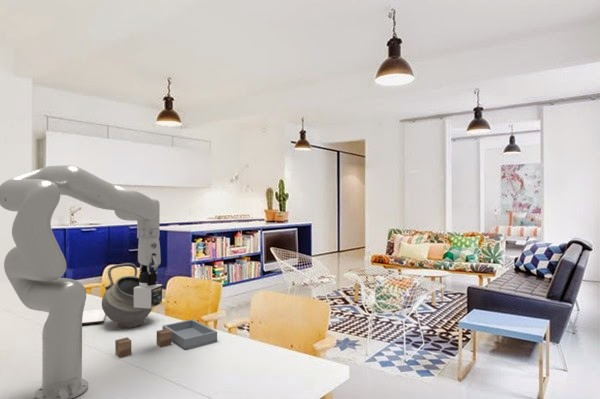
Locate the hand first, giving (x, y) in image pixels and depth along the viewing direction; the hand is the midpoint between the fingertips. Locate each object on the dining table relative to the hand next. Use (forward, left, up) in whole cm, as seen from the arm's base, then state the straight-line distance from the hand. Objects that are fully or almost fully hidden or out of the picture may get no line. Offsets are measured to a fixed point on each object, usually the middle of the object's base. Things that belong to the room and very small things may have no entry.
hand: (148, 283), depth 144 cm
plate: (+51, +10, -24) cm, 57 cm away
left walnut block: (0, +9, -24) cm, 25 cm away
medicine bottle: (0, 0, -8) cm, 8 cm away
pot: (+33, -4, -24) cm, 41 cm away
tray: (0, -16, -24) cm, 28 cm away
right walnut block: (0, -6, -24) cm, 24 cm away
